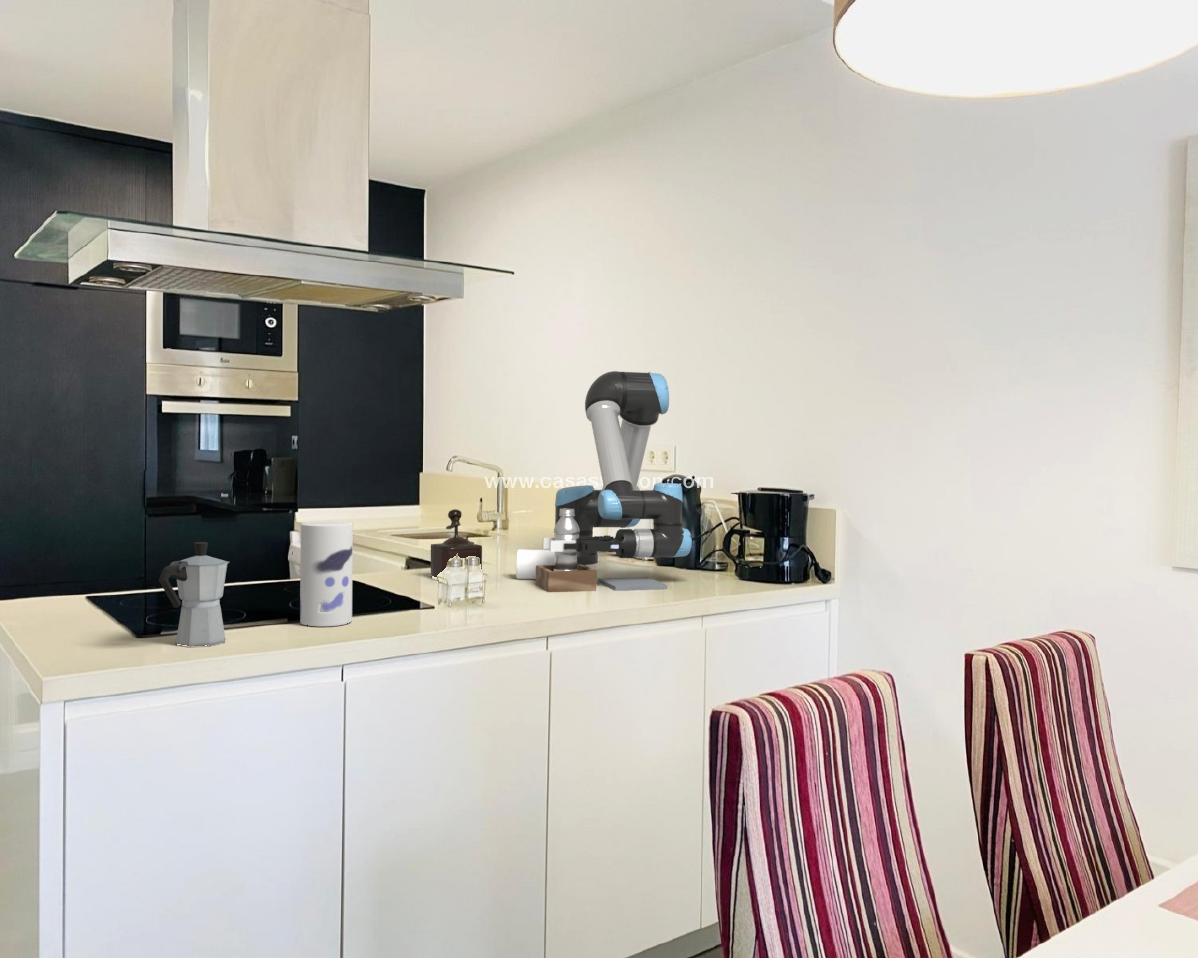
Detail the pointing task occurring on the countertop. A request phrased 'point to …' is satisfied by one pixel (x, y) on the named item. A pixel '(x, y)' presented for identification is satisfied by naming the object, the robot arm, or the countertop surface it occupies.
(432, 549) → the manual coffee grinder
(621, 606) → the countertop surface
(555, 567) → the plastic bottle
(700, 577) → the countertop surface
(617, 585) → the mat
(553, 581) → the holder
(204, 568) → the coffee maker
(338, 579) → the container
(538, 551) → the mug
